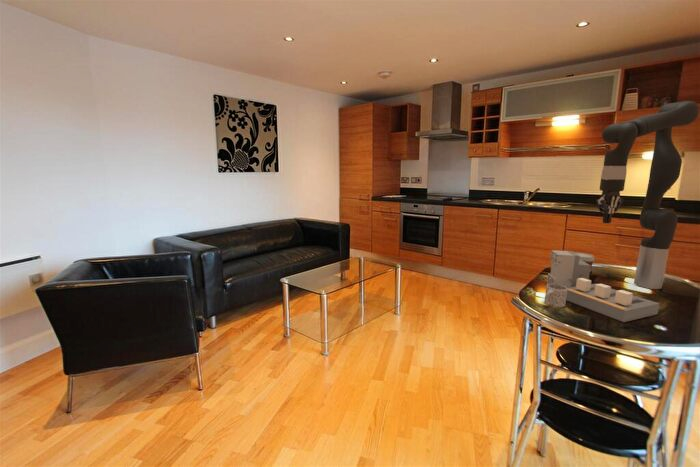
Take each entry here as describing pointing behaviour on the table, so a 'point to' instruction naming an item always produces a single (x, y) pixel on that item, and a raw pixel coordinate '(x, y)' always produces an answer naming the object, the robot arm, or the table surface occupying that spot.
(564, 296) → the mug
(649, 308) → the slider control panel
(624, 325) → the table surface
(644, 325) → the table surface
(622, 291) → the handle
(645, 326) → the table surface
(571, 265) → the circuit breaker
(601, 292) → the handle
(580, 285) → the handle
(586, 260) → the disposable coffee cup
